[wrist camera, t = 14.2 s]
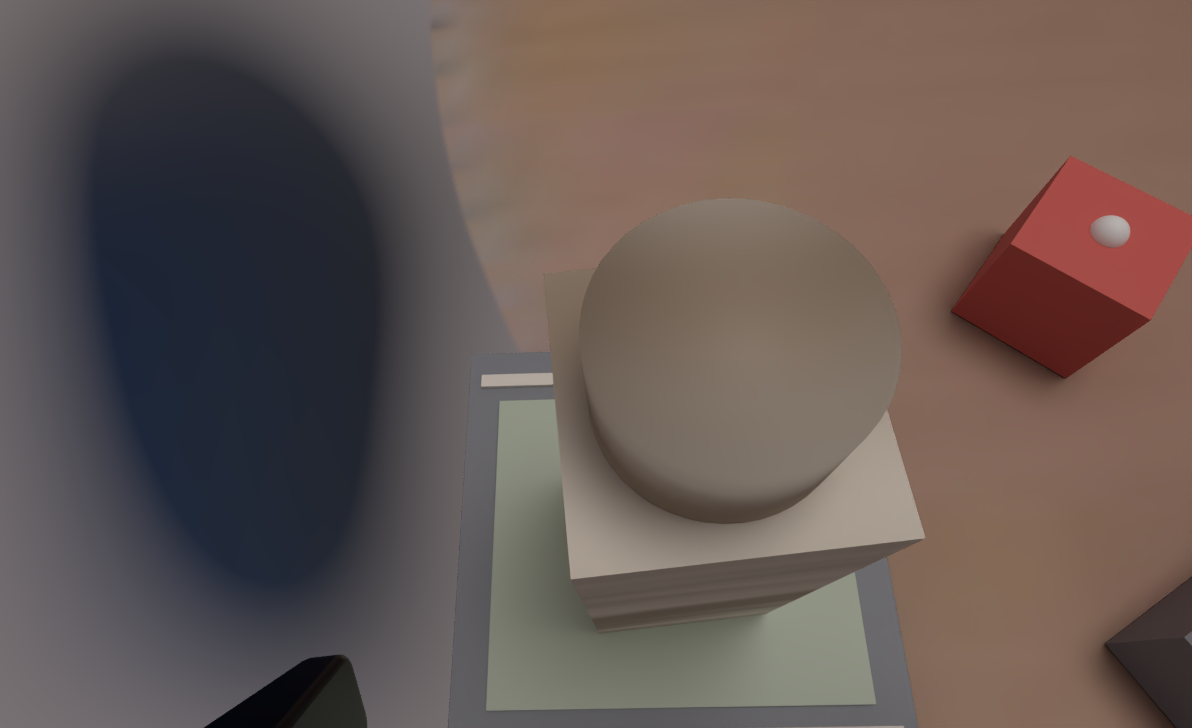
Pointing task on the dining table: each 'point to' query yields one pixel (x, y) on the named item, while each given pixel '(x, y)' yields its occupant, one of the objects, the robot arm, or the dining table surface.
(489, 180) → the dining table surface
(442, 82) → the dining table surface
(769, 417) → the capped square post
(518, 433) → the board
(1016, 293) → the red die
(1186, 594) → the dome housing
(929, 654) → the dining table surface
